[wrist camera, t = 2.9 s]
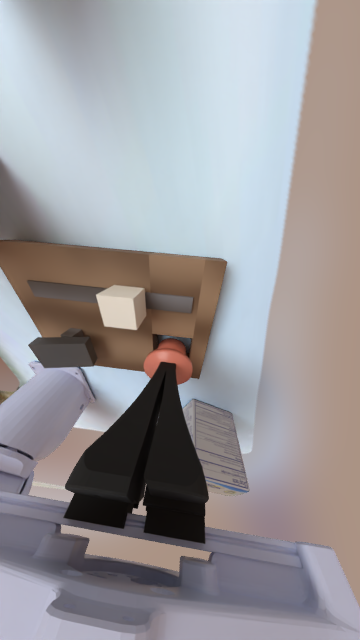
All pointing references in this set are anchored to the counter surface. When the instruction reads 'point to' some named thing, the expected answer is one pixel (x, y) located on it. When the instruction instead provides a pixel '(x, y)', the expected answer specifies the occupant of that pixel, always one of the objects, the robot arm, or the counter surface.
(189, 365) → the push button
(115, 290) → the slider knob
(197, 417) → the medicine box
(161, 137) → the counter surface
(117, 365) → the switch panel
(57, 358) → the rocker switch
